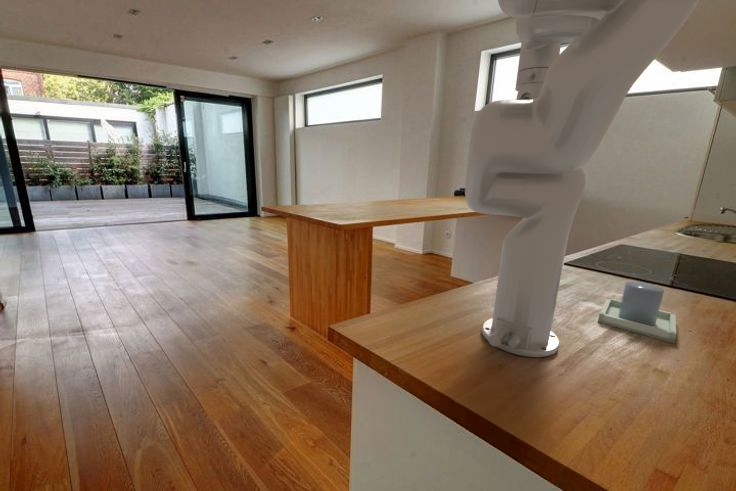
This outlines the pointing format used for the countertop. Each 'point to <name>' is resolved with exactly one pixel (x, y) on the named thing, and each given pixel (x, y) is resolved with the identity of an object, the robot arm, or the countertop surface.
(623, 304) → the blue grey cylinder
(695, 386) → the countertop surface
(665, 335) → the tray
